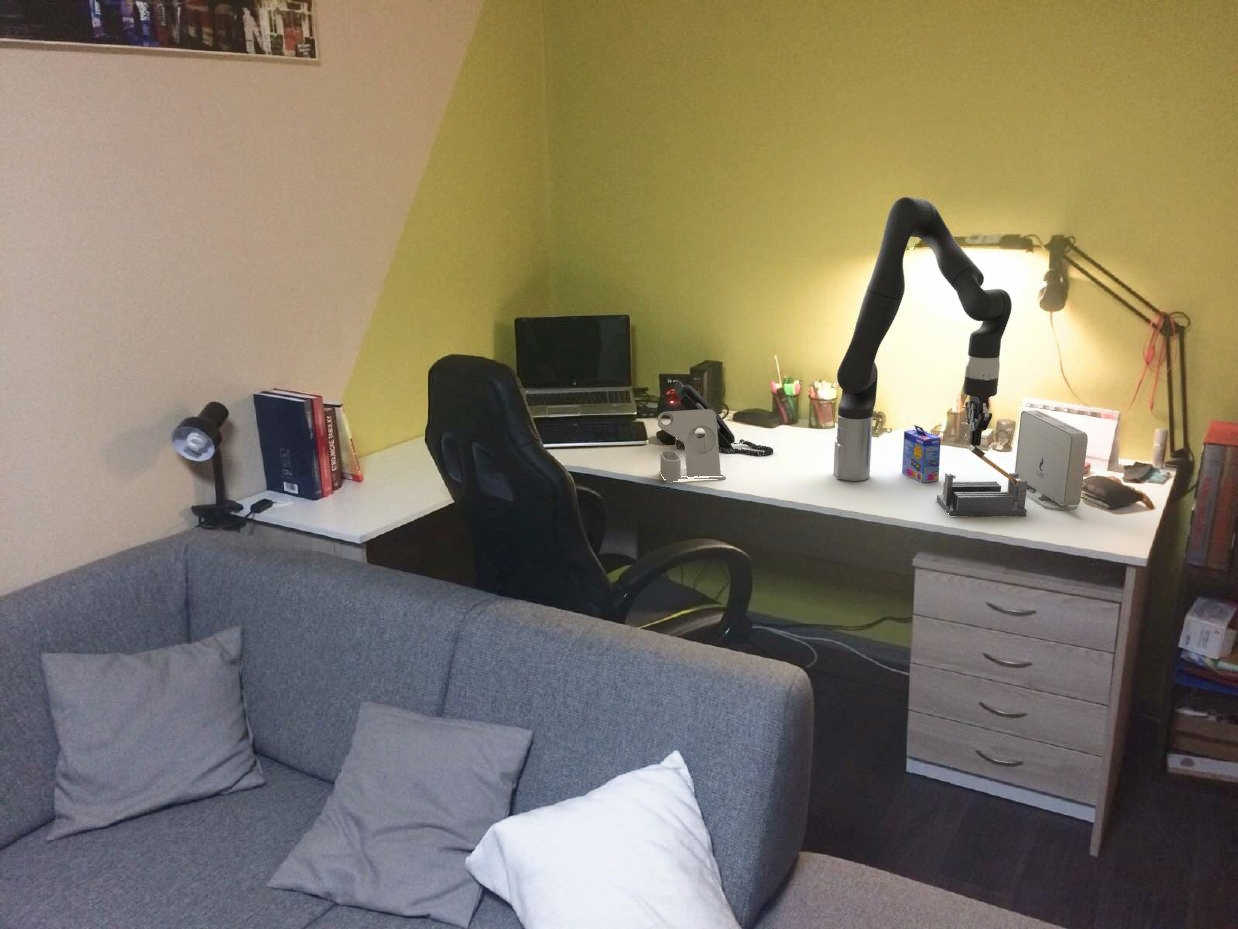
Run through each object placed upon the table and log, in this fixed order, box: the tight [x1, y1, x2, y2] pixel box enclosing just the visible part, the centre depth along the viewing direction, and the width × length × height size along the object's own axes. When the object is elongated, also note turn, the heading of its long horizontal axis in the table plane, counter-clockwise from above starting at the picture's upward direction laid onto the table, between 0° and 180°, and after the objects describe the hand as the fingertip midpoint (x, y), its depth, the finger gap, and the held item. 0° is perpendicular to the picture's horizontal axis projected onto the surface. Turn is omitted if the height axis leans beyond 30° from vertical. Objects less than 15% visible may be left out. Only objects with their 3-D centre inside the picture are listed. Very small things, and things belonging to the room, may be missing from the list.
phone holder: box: [657, 409, 727, 484], centre depth 267 cm, size 17×10×18 cm, turn 98°
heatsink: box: [936, 471, 1028, 518], centre depth 238 cm, size 18×12×9 cm, turn 88°
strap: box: [967, 444, 1020, 487], centre depth 236 cm, size 16×4×2 cm
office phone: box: [673, 380, 774, 457], centre depth 297 cm, size 29×28×20 cm
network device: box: [1014, 409, 1089, 511], centre depth 244 cm, size 26×9×20 cm, turn 5°
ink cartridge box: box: [901, 424, 942, 483], centre depth 263 cm, size 10×6×14 cm, turn 19°
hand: (974, 444), depth 235 cm, fingers closed
